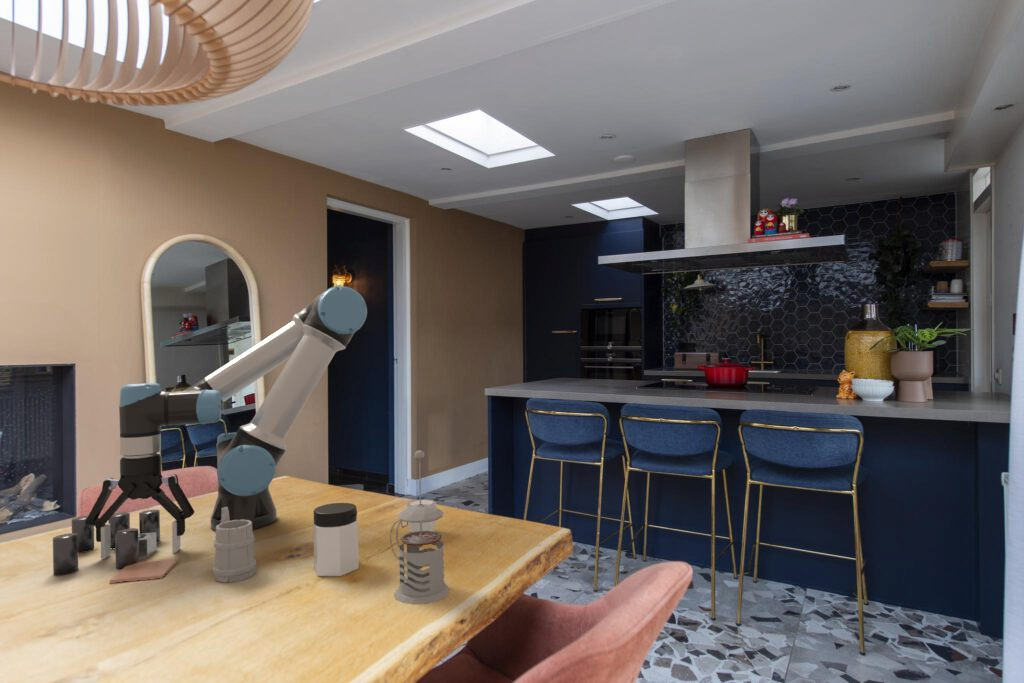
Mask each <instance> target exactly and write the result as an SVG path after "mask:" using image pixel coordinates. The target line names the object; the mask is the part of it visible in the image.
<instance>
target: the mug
mask: <svg viewBox="0 0 1024 683" xmlns="http://www.w3.org/2000/svg"><path fill="white" fill-rule="evenodd" d="M221 511H222V514H221V522H220V524H219V525H217V526H216V531H215V540H214V541H213V546H214V547H213V548H214V553H215V554H214V557H215V558H214V564H213V567H212V574H213V575H214V580H215V579H216V580H215V581H217V582H219V581H221V583H234V582H233V581H235V582H239V581H238V580H240V581H242V580H246V579H248V578H251V577H252V576H253V575H254V574H256V567H257V559H256V558H255V552H254V550H255V549H254V543H255V540H256V539H255V535H254V532H253V531H254V530H253V529H252V522H251V521H250V520H232V521H230V518H229V510H228V507H224V508H221ZM228 581H229V582H228Z"/></svg>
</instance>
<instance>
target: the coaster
mask: <svg viewBox="0 0 1024 683" xmlns="http://www.w3.org/2000/svg"><path fill="white" fill-rule="evenodd" d="M177 563H179V560H178V558H173V559H172V558H171V559H162V560H151V561H139V563H135V564H132V565H128V566H126V567H124V568H123V569H120V571H119V572H118V573H115V575H114V576H113V577H112V578H110V579H109V584H117V583H116V582H120V583H124V582H123V581H130V582H138V581H137V580H140V581H146V580H147V581H148V579H150V580H156V579H155V578H160V579H163V578H164V577H165V576H166V575H167V574H168V573H169V572H170V571H171V570H172V569H173V568H174V566H175V565H176V564H177ZM169 570H170V571H169ZM168 571H169V572H168ZM166 573H167V574H166ZM165 574H166V575H165ZM163 576H164V577H163Z"/></svg>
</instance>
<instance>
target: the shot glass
mask: <svg viewBox="0 0 1024 683" xmlns="http://www.w3.org/2000/svg"><path fill="white" fill-rule="evenodd" d="M418 504H420V499H416V500H411V501H409V502H407V503H406V508H408V507H411V506H413V505H418ZM421 504H427V505H432V506H435V507H436V508H437V501H436V500H433V499H421ZM408 526H409V533H410V532H414V531H420V523H410V522H408ZM435 527H436V520H435V521H432V522H426V523H422V531H432V532H433V531H435ZM435 532H436V531H435Z"/></svg>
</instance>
